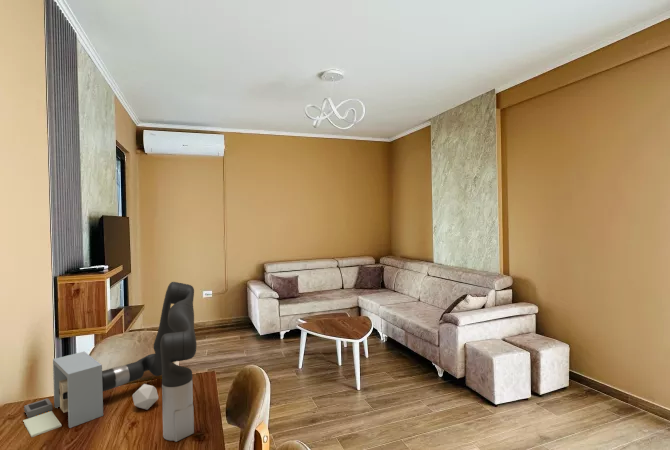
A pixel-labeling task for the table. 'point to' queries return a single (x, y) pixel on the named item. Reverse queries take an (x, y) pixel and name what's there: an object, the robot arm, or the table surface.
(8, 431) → the table surface
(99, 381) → the grey tunnel
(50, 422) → the pad
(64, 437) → the table surface
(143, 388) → the die
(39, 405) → the trap pit
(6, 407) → the table surface
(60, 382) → the birch block
